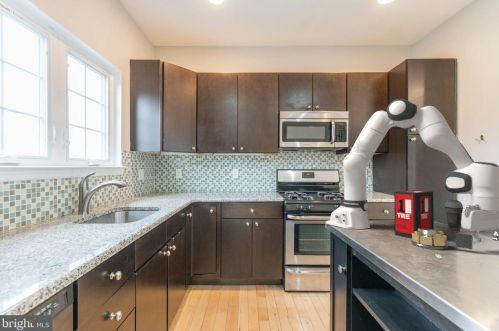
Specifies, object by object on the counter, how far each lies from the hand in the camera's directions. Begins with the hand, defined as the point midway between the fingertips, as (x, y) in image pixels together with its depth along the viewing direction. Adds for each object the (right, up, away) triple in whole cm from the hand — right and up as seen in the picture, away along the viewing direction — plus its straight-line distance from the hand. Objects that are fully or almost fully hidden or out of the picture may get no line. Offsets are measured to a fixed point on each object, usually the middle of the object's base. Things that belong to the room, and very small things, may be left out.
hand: (487, 241), depth 95 cm
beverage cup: (+11, -4, +29) cm, 31 cm away
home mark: (-24, -3, -8) cm, 26 cm away
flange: (-18, -3, +6) cm, 19 cm away
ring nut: (-15, -2, +3) cm, 16 cm away
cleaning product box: (-13, -4, +22) cm, 26 cm away
